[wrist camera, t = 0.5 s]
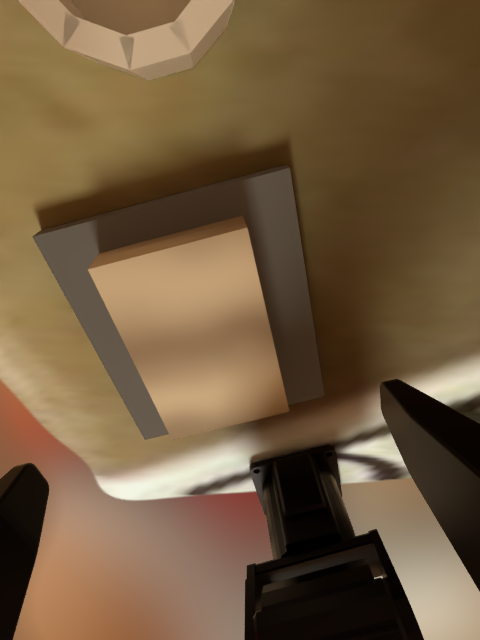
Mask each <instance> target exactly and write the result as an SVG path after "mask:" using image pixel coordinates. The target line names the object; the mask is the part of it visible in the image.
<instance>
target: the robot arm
mask: <svg viewBox="0 0 480 640" xmlns="http://www.w3.org/2000/svg"><path fill="white" fill-rule="evenodd" d="M380 398H381V410H382V414H383V416H384V419H385V421H386V423H387V425H388V427H389V430H390V432H391V434H392V436H393V438H394V441H395V443H396V445H397V447H398V449H399V452H400V454H401V456H402V458H403V460H404V463H405V465H406V467H407V469H408V471H409V473H410V475H411V476H412V478H413V480H414V482H415V484H416V485H417V487H418V489H419V490H420V492H421V494H422V495H423V497H424V499H425V500H426V502H427V504H428V505H429V507H430V509H431V510H432V512H433V514H434V515H435V517H436V519H437V521H438V522H439V524H440V526H441V527H442V529H443V530H444V532H445V534H446V536H447V537H448V539H449V541H450V542H451V544H452V546H453V547H454V549H455V551H456V552H457V554H458V556H459V557H460V559H461V561H462V563H463V564H464V566H465V567H466V569H467V571H468V573H469V574H470V576H471V578H472V579H473V581H474V583H475V584H476V586H477V588H478V589H479V591H480V423H478V422H476V421H474V420H473V419H471V418H469V417H467V416H465V415H463V414H461V413H460V412H458V411H456V410H454V409H452V408H450V407H449V406H447V405H445V404H443V403H441V402H439V401H438V400H436V399H434V398H432V397H430V396H428V395H426V394H425V393H423V392H421V391H419V390H417V389H415V388H414V387H412V386H410V385H408V384H406V383H404V382H402V381H401V380H398V379H394V380H389V381H385V382H382V383H381V385H380ZM250 474H251V477H252V479H253V482H254V485H255V488H256V491H257V494H258V496H259V499H260V502H261V505H262V508H263V511H264V513H265V515H266V517H267V523H268V530H269V536H270V542H271V549H272V555H273V560H271V561H267V562H264V563H260V564H255V563H254V564H250V565H247V579H246V581H245V640H424V638H423V636H422V633H421V630H420V628H419V625H418V623H417V620H416V618H415V615H414V613H413V610H412V608H411V605H410V603H409V601H408V598H407V596H406V594H405V592H404V589H403V587H402V585H401V582H400V580H399V578H398V576H397V574H396V572H395V569H394V567H393V565H392V563H391V560H390V558H389V556H388V554H387V552H386V549H385V547H384V545H383V542H382V540H381V538H380V536H379V534H378V531H377V529H374V530H371V531H369V533H366V534H363V535H359V536H355V533H354V530H353V527H352V525H351V522H350V519H349V516H348V513H347V511H346V508H345V505H344V502H343V500H342V492H341V485H340V478H339V471H338V464H337V458H336V452H335V450H334V447H333V446H324V447H320V448H315V449H311V450H307V451H303V452H298V453H294V454H290V455H286V456H281V457H277V458H273V459H269V460H264V461H260V462H256V463H253V464H251V465H250ZM48 495H49V485H48V482H47V481H46V479H45V478H44V477H43V475H42V474H41V473H40V471H39V470H38V469H37V467H36V466H35V465H34V464H32V463H27V464H22V465H18V466H15V467H14V468H12V469H11V470H10V471H9V472H8V473H6V475H4V476H3V477H2V478H1V479H0V640H13V637H14V633H15V630H16V626H17V623H18V619H19V616H20V612H21V608H22V605H23V602H24V598H25V595H26V591H27V588H28V584H29V581H30V577H31V574H32V571H33V567H34V564H35V560H36V556H37V552H38V547H39V542H40V537H41V532H42V527H43V521H44V516H45V510H46V505H47V500H48ZM381 575H382V576H383V579H381V578H377V579H374V577H378V576H381Z"/></svg>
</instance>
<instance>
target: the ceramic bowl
mask: <svg viewBox="0 0 480 640" xmlns="http://www.w3.org/2000/svg"><path fill="white" fill-rule="evenodd" d="M18 1H19V2H20V3H21V4H22V5H23V6H24V7H25V8H26V9H27V10H28V11H29V12H30V13H31V14H32V15H33V16H34V17H35V18H36V19H37V20H38V21H39V22H40V23H41V25H42V26H43V27H44V28H45V29H46V30H47V31H48V32H49V33H50V34H51V35H52V36H53V37H54V38H55V39H56V40H57V41H58V42H59V43H60V44H61V45H62V46H63V47H64V48H66V49H68V50H71V51H73V52H75V53H77V54H80V55H82V56H84V57H86V58H89V59H91V60H93V61H95V62H98V63H100V64H103V65H106V66H109V67H111V68H114V69H117V70H120V71H123V72H126V73H129V74H132V75H135V76H137V77H140V78H143V79H146V80H152V79H156V78H159V77H163V76H166V75H170V74H173V73H177V72H180V71H184V70H188V69H191V68H194V66H195V65H196V64H197V63H198V62H199V60H200V59H201V58H202V57H203V56H204V54H205V53H206V52H207V51H208V50H209V48H210V47H211V46H212V45H213V43H214V42H215V41H216V40H217V39H218V37H219V36H220V35H221V34H222V33H223V31H224V30H225V29H226V28H227V25H228V21H229V18H230V15H231V12H232V9H233V5H234V2H235V0H18Z"/></svg>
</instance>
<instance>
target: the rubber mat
mask: <svg viewBox="0 0 480 640" xmlns="http://www.w3.org/2000/svg"><path fill="white" fill-rule="evenodd" d="M242 215H243V218H244V220H245V223H246V225H247V228H248V232H249V237H250V241H251V246H252V250H253V254H254V259H255V263H256V267H257V272H258V276H259V281H260V285H261V289H262V294H263V298H264V302H265V307H266V311H267V316H268V320H269V324H270V329H271V333H272V337H273V342H274V346H275V351H276V355H277V359H278V364H279V368H280V372H281V377H282V381H283V385H284V390H285V394H286V399H287V403H288V405H291V404H295V403H300V402H304V401H308V400H312V399H316V398H320V397H324V396H325V395H324V388H323V381H322V375H321V368H320V362H319V355H318V349H317V342H316V336H315V329H314V322H313V316H312V309H311V303H310V296H309V290H308V283H307V276H306V270H305V263H304V257H303V250H302V244H301V237H300V231H299V224H298V217H297V211H296V204H295V198H294V191H293V185H292V178H291V172H290V167H288V166H287V165H282V166H279V167H275V168H271V169H267V170H264V171H260V172H256V173H253V174H249V175H245V176H241V177H238V178H234V179H230V180H226V181H223V182H219V183H215V184H212V185H208V186H204V187H200V188H197V189H193V190H189V191H186V192H182V193H178V194H174V195H171V196H167V197H163V198H159V199H156V200H152V201H148V202H145V203H141V204H137V205H133V206H130V207H126V208H122V209H118V210H115V211H111V212H107V213H104V214H100V215H96V216H92V217H89V218H85V219H81V220H77V221H74V222H70V223H66V224H63V225H59V226H55V227H51V228H48V229H44V230H41V231H39V232H38V233H37V234H35V235H34V236H33V238H34V240H35V242H36V244H37V246H38V247H39V249H40V251H41V253H42V255H43V256H44V258H45V260H46V262H47V264H48V265H49V267H50V269H51V271H52V273H53V275H54V276H55V278H56V280H57V282H58V284H59V285H60V287H61V289H62V291H63V293H64V294H65V296H66V298H67V300H68V302H69V303H70V305H71V307H72V309H73V311H74V313H75V314H76V316H77V318H78V320H79V322H80V323H81V325H82V327H83V329H84V331H85V332H86V334H87V336H88V338H89V340H90V341H91V343H92V345H93V347H94V349H95V350H96V352H97V354H98V356H99V358H100V360H101V361H102V363H103V365H104V367H105V369H106V370H107V372H108V374H109V376H110V378H111V379H112V381H113V383H114V385H115V387H116V388H117V390H118V392H119V394H120V396H121V398H122V399H123V401H124V403H125V405H126V407H127V408H128V410H129V412H130V414H131V416H132V417H133V419H134V421H135V423H136V425H137V426H138V428H139V430H140V432H141V434H142V436H143V437H144V439H145V440H146V439H150V438H154V437H159V436H163V435H167V434H169V433H168V431H167V429H166V427H165V425H164V423H163V421H162V419H161V417H160V415H159V413H158V411H157V408H156V406H155V404H154V402H153V400H152V398H151V396H150V394H149V392H148V390H147V388H146V386H145V384H144V382H143V380H142V378H141V376H140V374H139V372H138V370H137V368H136V366H135V364H134V362H133V360H132V358H131V356H130V354H129V352H128V350H127V348H126V346H125V344H124V342H123V340H122V338H121V336H120V334H119V332H118V330H117V328H116V326H115V324H114V322H113V320H112V318H111V316H110V313H109V311H108V309H107V307H106V305H105V303H104V301H103V299H102V297H101V295H100V293H99V291H98V289H97V287H96V285H95V283H94V281H93V279H92V277H91V275H90V273H89V271H88V268H89V267H90V266H91V264H92V263H93V261H94V260H95V259H96V257H97V256H98V254H99V253H102V252H106V251H110V250H114V249H117V248H121V247H125V246H129V245H133V244H136V243H140V242H144V241H148V240H151V239H155V238H159V237H163V236H167V235H170V234H174V233H178V232H182V231H186V230H189V229H193V228H197V227H201V226H204V225H208V224H212V223H216V222H220V221H223V220H227V219H231V218H235V217H239V216H242Z"/></svg>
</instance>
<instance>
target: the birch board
mask: <svg viewBox="0 0 480 640" xmlns="http://www.w3.org/2000/svg"><path fill="white" fill-rule="evenodd" d="M88 271H89V273H90V275H91V277H92V279H93V281H94V283H95V285H96V287H97V289H98V291H99V293H100V295H101V297H102V299H103V301H104V303H105V305H106V307H107V309H108V311H109V313H110V316H111V318H112V320H113V322H114V324H115V326H116V328H117V330H118V332H119V334H120V336H121V338H122V340H123V342H124V344H125V346H126V348H127V350H128V352H129V354H130V356H131V358H132V360H133V362H134V364H135V366H136V368H137V370H138V372H139V374H140V376H141V378H142V380H143V382H144V384H145V386H146V388H147V390H148V392H149V394H150V396H151V398H152V400H153V402H154V404H155V406H156V408H157V411H158V413H159V415H160V417H161V419H162V421H163V423H164V425H165V427H166V429H167V431H168V433H169V435H170V437H171V439H172V440H174V439H178V438H182V437H187V436H191V435H195V434H199V433H203V432H207V431H212V430H216V429H220V428H224V427H228V426H232V425H236V424H241V423H245V422H249V421H253V420H257V419H261V418H266V417H270V416H274V415H278V414H282V413H286V412H289V407H288V403H287V399H286V394H285V390H284V385H283V381H282V377H281V372H280V368H279V364H278V359H277V355H276V351H275V346H274V342H273V337H272V333H271V329H270V324H269V320H268V316H267V311H266V307H265V302H264V298H263V294H262V289H261V285H260V281H259V276H258V272H257V267H256V263H255V259H254V254H253V250H252V246H251V241H250V237H249V232H248V228H247V225H246V223H245V220H244V218H243V215H242V216H239V217H235V218H231V219H227V220H223V221H220V222H216V223H212V224H208V225H204V226H201V227H197V228H193V229H189V230H186V231H182V232H178V233H174V234H170V235H167V236H163V237H159V238H155V239H151V240H148V241H144V242H140V243H136V244H133V245H129V246H125V247H121V248H117V249H114V250H110V251H106V252H102V253H99V254H98V256H97V257H96V259H95V260H94V261H93V263H92V264H91V266H90V267H89V268H88Z"/></svg>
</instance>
